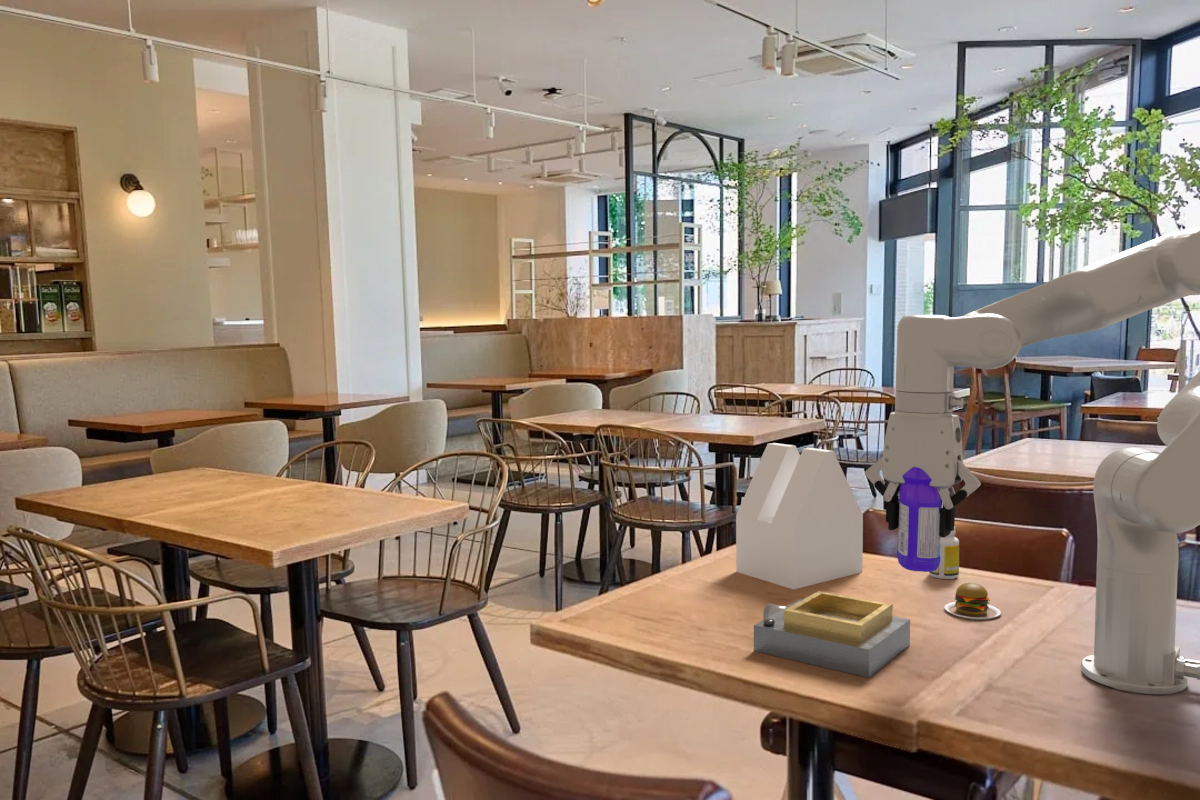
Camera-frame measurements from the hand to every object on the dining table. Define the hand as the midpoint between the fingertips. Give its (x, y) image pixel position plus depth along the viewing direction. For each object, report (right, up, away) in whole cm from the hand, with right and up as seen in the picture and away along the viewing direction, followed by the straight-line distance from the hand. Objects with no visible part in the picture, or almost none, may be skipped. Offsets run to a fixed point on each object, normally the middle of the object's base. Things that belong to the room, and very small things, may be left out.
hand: (919, 530), depth 129 cm
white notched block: (-5, -16, +53) cm, 56 cm away
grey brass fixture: (-11, -19, +12) cm, 25 cm away
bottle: (0, -5, 0) cm, 5 cm away
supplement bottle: (+22, -16, +48) cm, 55 cm away
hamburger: (+18, -18, +27) cm, 37 cm away
